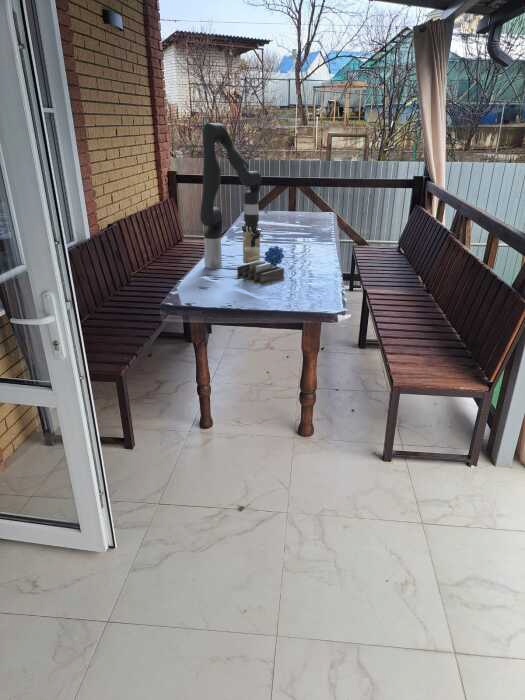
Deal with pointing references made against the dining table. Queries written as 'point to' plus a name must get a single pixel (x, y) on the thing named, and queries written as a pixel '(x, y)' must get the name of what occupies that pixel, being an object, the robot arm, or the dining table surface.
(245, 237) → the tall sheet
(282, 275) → the rack
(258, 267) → the offcut grey
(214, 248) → the robot arm
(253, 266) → the offcut oak
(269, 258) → the grapes
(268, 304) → the dining table surface
